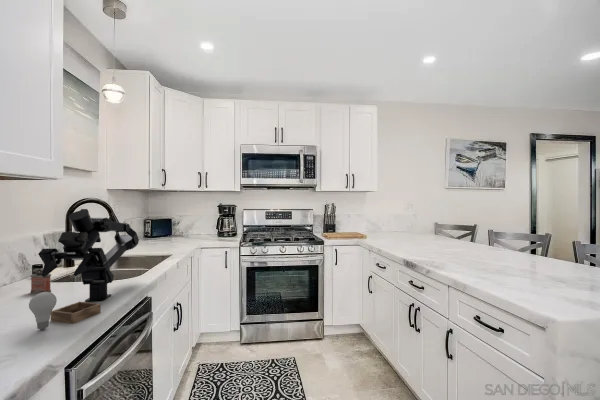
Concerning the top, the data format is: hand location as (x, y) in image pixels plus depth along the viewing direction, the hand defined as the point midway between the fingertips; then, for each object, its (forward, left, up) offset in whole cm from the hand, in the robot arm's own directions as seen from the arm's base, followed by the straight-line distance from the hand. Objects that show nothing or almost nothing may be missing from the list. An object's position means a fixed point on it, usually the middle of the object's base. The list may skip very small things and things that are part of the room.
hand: (58, 275), depth 90 cm
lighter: (-34, -27, -15) cm, 46 cm away
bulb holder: (-3, +3, -14) cm, 15 cm away
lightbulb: (+6, -1, -15) cm, 16 cm away
